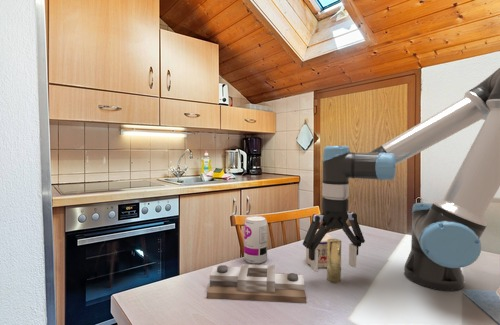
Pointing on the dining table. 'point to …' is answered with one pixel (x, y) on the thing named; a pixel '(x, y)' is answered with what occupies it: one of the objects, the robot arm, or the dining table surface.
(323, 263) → the teacup with lid
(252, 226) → the supplement can
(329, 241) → the brass pin
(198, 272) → the dining table surface
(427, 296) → the dining table surface
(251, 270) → the pin insertion fixture
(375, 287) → the dining table surface
